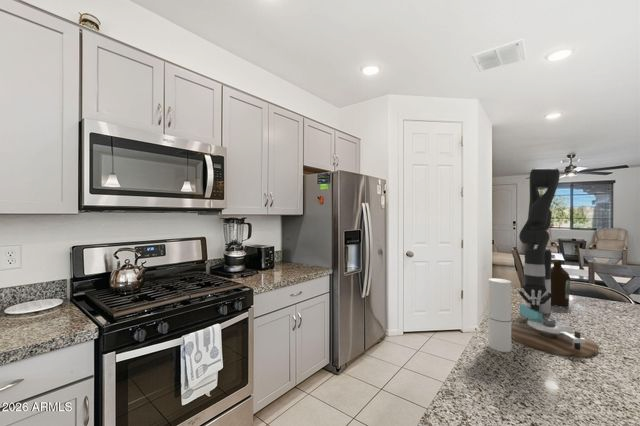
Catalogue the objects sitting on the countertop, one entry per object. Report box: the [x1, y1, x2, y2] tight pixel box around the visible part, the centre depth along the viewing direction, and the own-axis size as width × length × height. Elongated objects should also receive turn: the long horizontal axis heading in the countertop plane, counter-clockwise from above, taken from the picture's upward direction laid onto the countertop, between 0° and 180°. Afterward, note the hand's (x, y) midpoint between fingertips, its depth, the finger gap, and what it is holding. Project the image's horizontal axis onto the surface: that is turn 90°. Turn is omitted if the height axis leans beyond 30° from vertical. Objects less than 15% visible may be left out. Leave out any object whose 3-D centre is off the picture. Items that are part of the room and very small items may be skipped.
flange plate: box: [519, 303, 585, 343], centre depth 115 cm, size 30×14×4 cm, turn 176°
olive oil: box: [551, 259, 571, 307], centre depth 160 cm, size 11×11×25 cm
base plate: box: [511, 322, 599, 358], centre depth 113 cm, size 28×28×8 cm
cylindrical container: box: [488, 277, 512, 353], centre depth 107 cm, size 7×7×25 cm
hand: (534, 312), depth 126 cm, fingers closed
